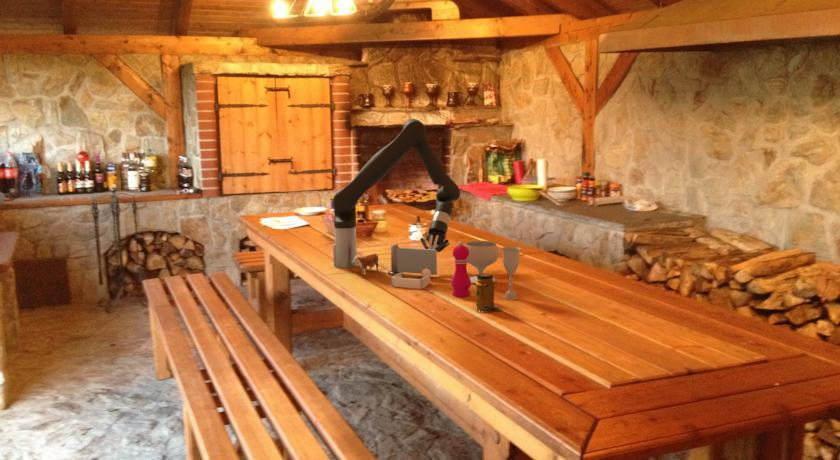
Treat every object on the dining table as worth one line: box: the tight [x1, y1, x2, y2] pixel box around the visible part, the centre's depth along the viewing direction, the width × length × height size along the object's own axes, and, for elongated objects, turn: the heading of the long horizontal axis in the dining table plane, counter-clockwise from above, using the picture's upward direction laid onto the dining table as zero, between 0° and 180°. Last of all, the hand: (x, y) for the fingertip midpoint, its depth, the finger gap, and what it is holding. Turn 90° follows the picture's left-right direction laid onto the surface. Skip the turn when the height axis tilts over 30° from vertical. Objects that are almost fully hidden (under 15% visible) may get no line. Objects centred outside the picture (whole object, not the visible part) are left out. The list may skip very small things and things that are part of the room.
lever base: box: [387, 270, 400, 277], centre depth 294 cm, size 6×6×1 cm
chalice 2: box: [501, 246, 521, 301], centre depth 254 cm, size 7×7×18 cm
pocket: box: [390, 272, 431, 290], centre depth 275 cm, size 13×9×4 cm
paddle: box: [390, 243, 438, 276], centre depth 290 cm, size 20×3×11 cm, turn 69°
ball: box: [420, 268, 432, 278], centre depth 285 cm, size 4×4×4 cm
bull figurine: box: [352, 253, 379, 276], centre depth 296 cm, size 4×13×8 cm, turn 137°
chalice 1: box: [464, 240, 500, 285], centre depth 278 cm, size 14×14×15 cm
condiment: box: [475, 272, 503, 313], centre depth 241 cm, size 7×8×12 cm
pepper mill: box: [450, 240, 472, 298], centre depth 258 cm, size 7×7×20 cm
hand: (429, 259), depth 291 cm, fingers closed
